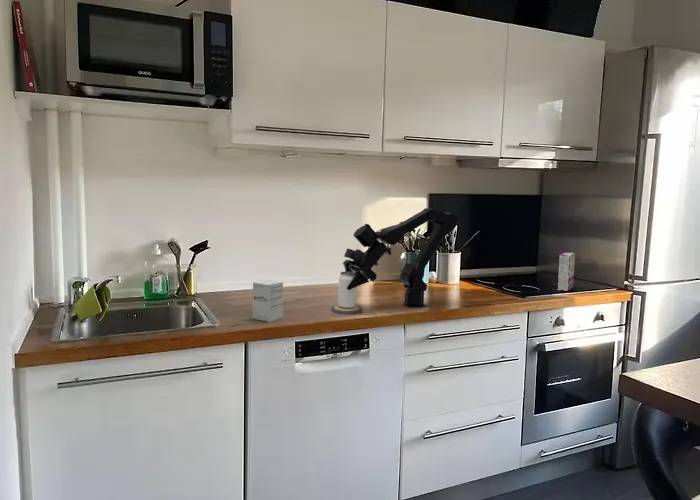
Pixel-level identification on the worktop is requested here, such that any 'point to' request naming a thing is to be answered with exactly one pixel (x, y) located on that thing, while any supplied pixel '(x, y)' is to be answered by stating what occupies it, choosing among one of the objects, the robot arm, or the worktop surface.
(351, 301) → the can
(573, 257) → the candy bar box
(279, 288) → the supplement box
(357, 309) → the trivet
